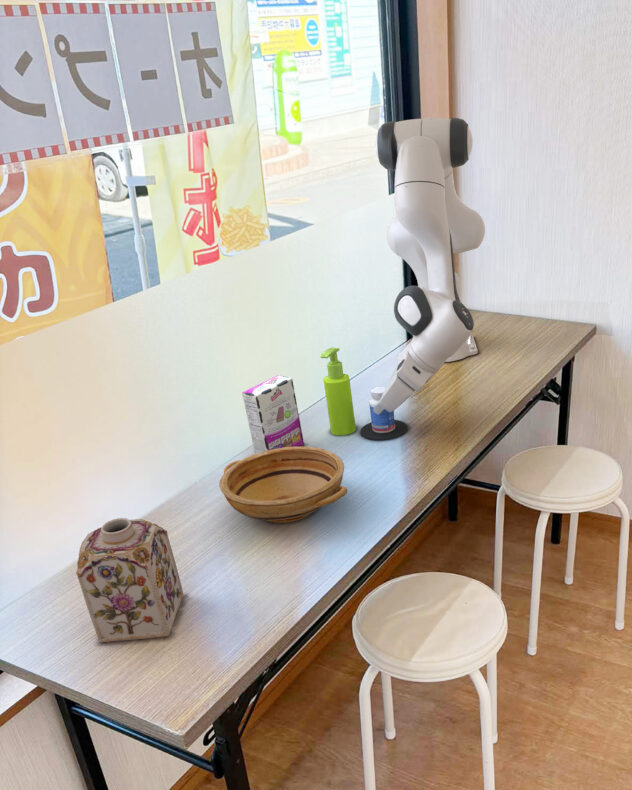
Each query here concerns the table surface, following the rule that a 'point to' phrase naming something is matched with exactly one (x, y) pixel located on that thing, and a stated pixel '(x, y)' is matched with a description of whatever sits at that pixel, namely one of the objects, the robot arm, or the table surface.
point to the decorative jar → (129, 580)
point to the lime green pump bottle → (338, 396)
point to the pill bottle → (385, 418)
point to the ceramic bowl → (283, 483)
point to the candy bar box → (273, 415)
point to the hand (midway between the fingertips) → (378, 405)
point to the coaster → (397, 432)
